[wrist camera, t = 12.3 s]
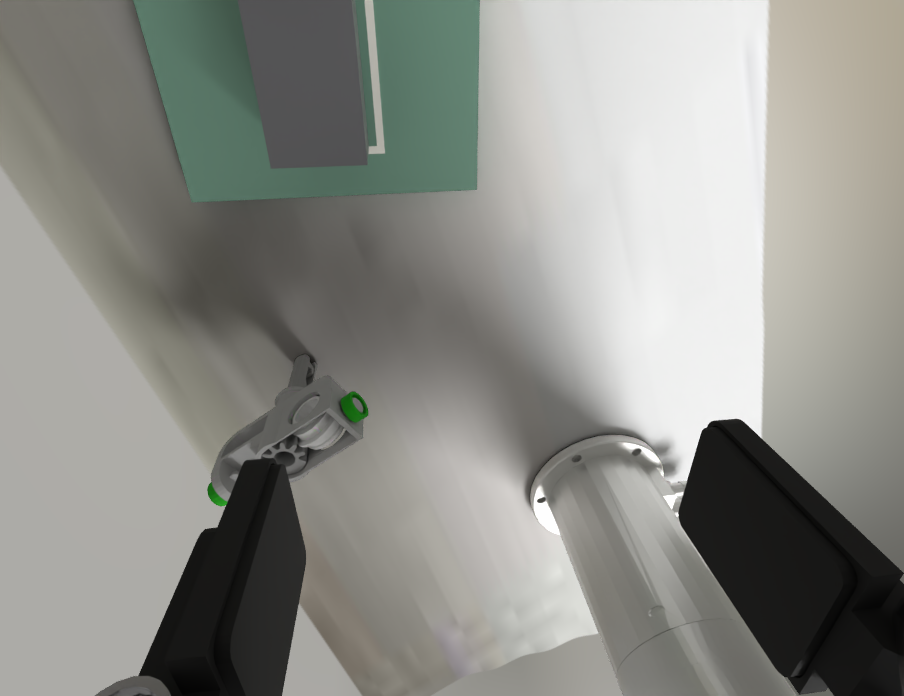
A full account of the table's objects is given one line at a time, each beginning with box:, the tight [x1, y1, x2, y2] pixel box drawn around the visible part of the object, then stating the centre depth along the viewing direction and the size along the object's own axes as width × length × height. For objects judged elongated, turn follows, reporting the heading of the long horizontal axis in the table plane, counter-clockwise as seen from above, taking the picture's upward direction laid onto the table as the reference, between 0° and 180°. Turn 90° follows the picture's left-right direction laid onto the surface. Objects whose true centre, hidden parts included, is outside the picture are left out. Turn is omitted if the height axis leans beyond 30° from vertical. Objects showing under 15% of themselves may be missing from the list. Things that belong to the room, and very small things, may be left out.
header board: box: [133, 0, 480, 202], centre depth 23 cm, size 16×14×5 cm
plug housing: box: [238, 0, 369, 169], centre depth 21 cm, size 4×8×6 cm, turn 1°
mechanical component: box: [208, 355, 368, 506], centre depth 30 cm, size 3×10×10 cm, turn 123°
